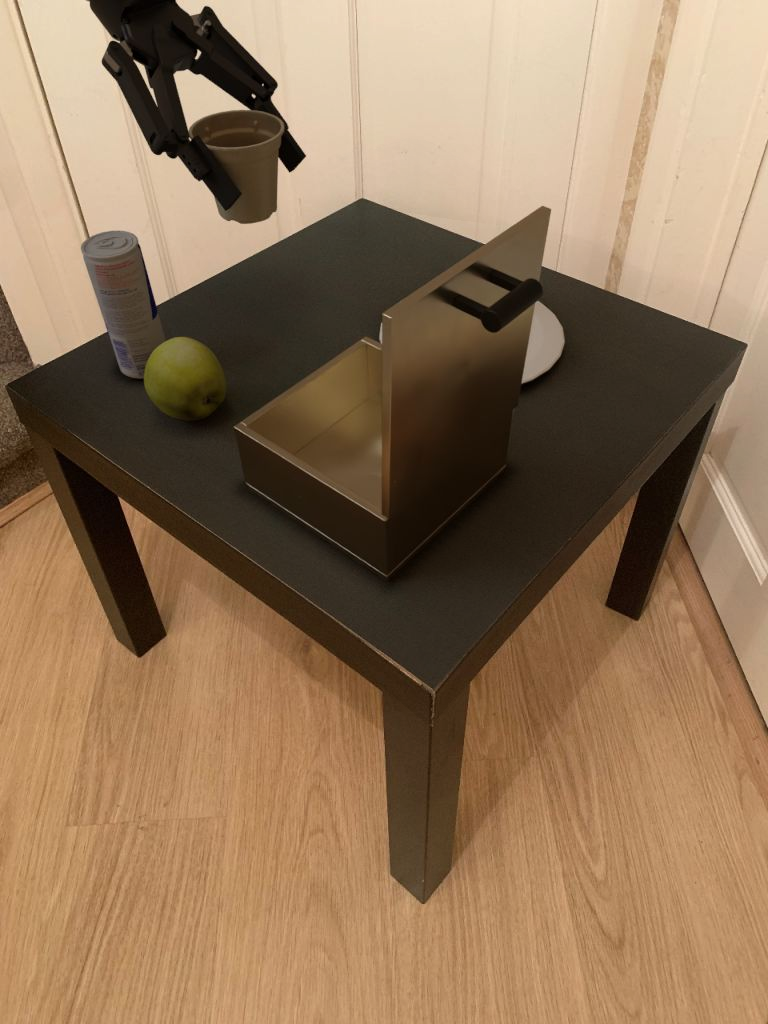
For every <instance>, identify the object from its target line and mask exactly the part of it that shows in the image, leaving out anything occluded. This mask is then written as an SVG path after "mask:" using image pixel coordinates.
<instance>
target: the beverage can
mask: <svg viewBox="0 0 768 1024" xmlns="http://www.w3.org/2000/svg"><path fill="white" fill-rule="evenodd" d="M138 238H139V237H137V236H136V235H135V234H134V233H133V232H130V231H126V230H108V231H102V232H99V233H96V234H94V235H91V236H89V237H88V238H86V239H85V240H84V241H83V242H82V243H81V245H80V251H81V254H82V257H83V261H84V264H85V267H86V270H87V274H88V277H89V279H90V283H91V285H92V288H93V292H94V295H95V298H96V300H97V304H98V307H99V310H100V313H101V316H102V319H103V322H104V325H105V328H106V331H107V334H108V337H109V340H110V343H111V346H112V349H113V352H114V355H115V358H116V361H117V364H118V368H119V371H120V372H121V373H122V374H123V375H125V376H127V377H129V378H132V379H140V380H141V379H144V372H145V367H146V363H147V361H148V359H149V357H150V355H151V353H152V352H153V351H154V350H155V349H156V348H157V347H158V346H159V345H161V344H162V343H163V342H165V341H167V340H166V337H165V332H164V329H163V326H162V322H161V318H160V315H159V314H160V313H159V311H158V308H157V302H156V299H155V295H154V293H153V289H152V284H151V280H150V277H149V274H148V270H147V265H146V262H145V259H144V255H143V251H142V248H141V244H140V243H139V239H138Z"/></svg>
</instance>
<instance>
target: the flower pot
mask: <svg viewBox="0 0 768 1024" xmlns="http://www.w3.org/2000/svg"><path fill="white" fill-rule="evenodd" d="M188 132H189V136H190V138H189V140H190V141H191V140H192V138H193V137H195V136H197V135H199V137H200V138H201V139H202V141H203V142H204V143H205V145H206V146H207V147H208V149H209V150H210V151H211V153H212V154H213V155H214V157H215V158H216V159H217V161H218V162H219V163H220V165H221V166H222V167H223V169H224V170H225V172H226V173H227V174H228V176H229V177H230V178H231V180H232V181H233V182H234V184H235V185H236V186H237V188H238V189H239V190H240V192H241V193H242V195H241V196H240V197H239V198H238V199H237V201H236V202H235V203H234V204H233V205H232V207H231V208H230V209H228V210H226V211H225V210H224V208H223V207H222V206H221V204H220V203H219V202H218V200H217V199H216V198H215V196H214V195H213V198H214V202H215V205H216V208H217V212H218V215H219V216H220V217H221V218H222V219H223V220H225V221H227V222H231V221H234V222H236V223H238V224H241V225H251V224H256V223H260V222H264V221H266V220H268V219H270V217H271V216H272V215H273V214H274V213H276V212H277V210H278V177H279V157H278V151H279V147H280V145H281V136H282V134H283V133H284V123H283V121H282V120H281V119H279V118H278V117H276V116H275V115H272V114H269V113H266V112H262V111H256V110H250V109H231V110H226V111H225V110H224V111H220V112H216V113H212V114H209V115H205V116H203V117H201V118H199V119H197V120H196V121H194V122H193V123H192V124H191V125H190V126H189V128H188Z"/></svg>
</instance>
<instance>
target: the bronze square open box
mask: <svg viewBox="0 0 768 1024" xmlns="http://www.w3.org/2000/svg"><path fill="white" fill-rule="evenodd" d="M513 413H514V409H513V410H512V411H511V412H510V413H509V414H508V415H507V416H506V417H504V418H503V419H502V420H501V421H500V422H499V423H498V424H496V425H495V426H494V427H493V428H492V429H491V430H490V431H488V432H487V433H486V434H485V435H484V436H483V437H482V438H481V439H479V440H478V441H477V442H476V443H475V444H474V445H473V446H471V447H470V448H469V449H468V450H467V451H466V452H465V453H464V454H462V455H461V456H460V457H459V458H458V459H457V460H456V461H454V462H453V463H452V464H451V465H450V466H449V467H448V468H446V469H445V470H444V471H443V472H442V473H441V474H440V475H439V476H437V477H436V478H435V479H434V480H433V481H432V482H431V483H429V484H428V485H427V486H426V487H425V488H424V489H423V490H421V491H420V492H419V493H418V494H417V495H416V496H415V497H414V498H412V499H411V500H410V501H409V502H408V503H407V504H406V505H404V506H403V507H402V508H401V509H400V510H399V511H398V512H397V513H395V514H394V515H393V516H392V517H391V518H390V519H388V518H386V517H385V516H383V515H382V514H381V509H382V344H381V343H380V341H379V342H378V341H377V340H375V339H372V338H371V337H369V336H364V337H363V338H361V339H360V340H358V341H357V342H355V343H354V344H353V345H351V346H349V347H348V348H347V349H345V350H343V351H342V352H340V353H339V354H338V355H336V356H335V357H333V358H332V359H331V360H329V361H328V362H326V363H325V364H323V365H321V366H320V367H319V368H318V369H316V370H314V371H313V372H311V373H310V374H308V375H307V376H306V377H304V378H303V379H301V380H300V381H299V382H297V383H295V384H294V385H292V386H291V387H289V388H288V389H286V390H285V391H284V392H282V393H281V394H280V395H278V396H276V397H275V398H274V399H272V400H271V401H269V402H267V403H266V404H265V405H263V406H262V407H260V408H259V409H258V410H256V411H254V412H253V413H252V414H250V415H249V416H247V417H245V418H244V419H243V420H242V421H240V422H239V423H237V424H235V425H234V426H233V430H234V434H235V439H236V444H237V449H238V453H239V458H240V463H241V468H242V474H243V477H244V482H245V486H246V489H247V490H248V491H250V492H251V493H253V494H254V495H256V496H257V497H259V498H261V499H262V500H263V501H265V502H267V503H268V504H269V505H271V506H273V507H274V508H275V509H277V510H278V511H280V512H281V513H283V514H284V515H286V516H287V517H288V518H290V519H292V520H294V522H297V523H298V524H299V525H301V526H302V527H304V528H305V529H307V530H308V531H309V532H311V533H312V534H315V535H316V536H318V537H319V538H320V539H322V540H323V541H325V542H326V543H328V545H329V544H330V545H331V546H332V547H333V548H335V549H337V550H338V551H339V552H341V553H343V554H344V555H346V556H347V557H349V558H351V559H352V560H353V561H355V562H357V563H358V564H360V565H361V566H362V567H364V568H365V569H366V570H368V571H370V572H371V573H373V574H374V575H376V576H378V577H379V578H380V579H382V580H383V581H385V582H389V581H390V580H391V579H392V578H393V577H394V576H395V575H396V574H398V572H399V571H400V570H401V569H402V568H404V567H405V566H406V565H407V564H408V563H409V562H410V561H411V560H412V559H413V558H415V556H416V555H418V553H419V552H420V551H422V550H423V549H424V548H425V547H426V546H427V545H428V544H429V543H430V542H431V541H433V540H434V539H435V538H436V537H437V536H438V534H440V532H442V531H443V530H444V529H445V528H446V527H447V526H448V525H449V524H450V523H451V522H452V521H454V519H456V518H457V517H458V516H460V515H461V513H462V512H463V511H464V510H465V509H466V508H468V506H469V505H471V503H472V502H474V501H475V500H476V499H477V498H478V497H480V495H481V494H483V492H484V491H485V490H487V489H488V488H489V487H490V486H491V485H492V483H494V482H495V481H496V480H497V479H498V478H499V477H501V475H503V474H504V473H505V472H506V469H507V468H506V467H507V460H508V452H509V446H510V445H509V444H510V435H511V430H512V429H511V428H512V421H513Z"/></svg>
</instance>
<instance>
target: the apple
mask: <svg viewBox="0 0 768 1024" xmlns="http://www.w3.org/2000/svg"><path fill="white" fill-rule="evenodd" d="M143 384H144V389H145V391H146V393H147V396H148V397H149V399H150V400H151V402H152V403H153V404H154V405H155V406H156V407H157V408H158V409H159V411H161V412H162V413H164V414H166V415H167V416H169V417H171V418H174V419H176V420H181V421H200V420H203V419H206V418H208V417H209V416H210V415H211V414H213V412H215V411H216V409H217V408H218V407H219V406H220V405H221V404H222V403H223V401H224V400H225V398H226V394H227V380H226V376H225V373H224V370H223V368H222V366H221V364H220V362H219V360H218V357H217V356H216V354H215V353H214V352H213V351H212V350H211V349H210V348H209V347H208V346H206V345H205V344H204V343H202V342H200V341H198V340H196V339H194V338H191V337H187V336H177V337H172V338H170V339H167V340H166V341H165V342H163V343H162V344H161V345H159V346H158V347H157V348H156V349H155V350H154V351H153V352H152V353H151V355H150V357H149V359H148V361H147V363H146V367H145V372H144V378H143Z"/></svg>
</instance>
